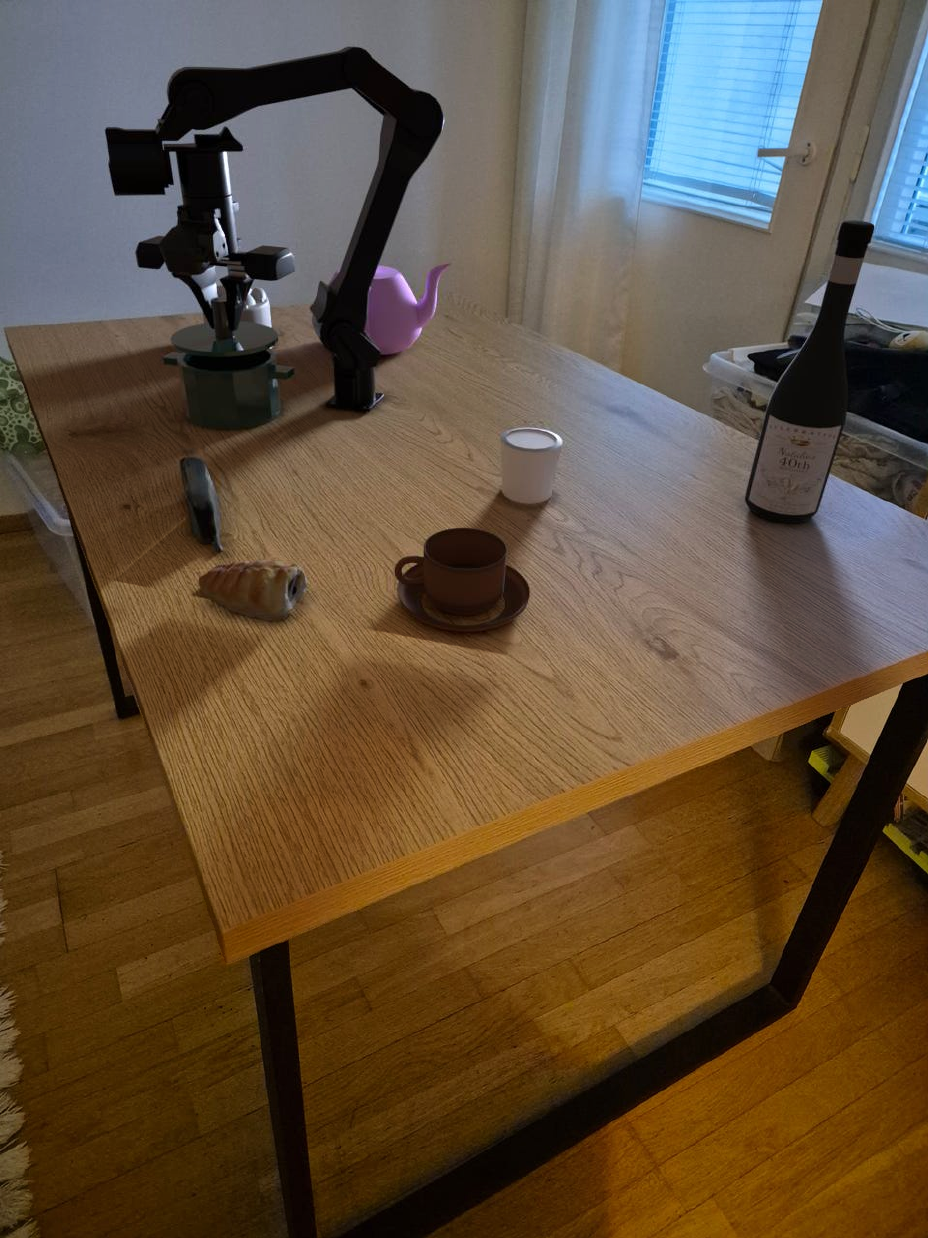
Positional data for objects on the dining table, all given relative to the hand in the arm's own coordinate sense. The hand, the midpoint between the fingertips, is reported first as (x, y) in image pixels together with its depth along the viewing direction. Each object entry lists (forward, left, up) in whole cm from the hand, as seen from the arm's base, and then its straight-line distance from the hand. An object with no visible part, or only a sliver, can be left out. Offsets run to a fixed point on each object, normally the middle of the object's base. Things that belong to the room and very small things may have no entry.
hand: (224, 329), depth 108 cm
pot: (0, 0, -11) cm, 11 cm away
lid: (0, 0, -1) cm, 1 cm away
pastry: (+41, +24, -11) cm, 49 cm away
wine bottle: (+6, +71, -11) cm, 72 cm away
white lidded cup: (+12, +43, -11) cm, 46 cm away
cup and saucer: (+36, +42, -11) cm, 56 cm away
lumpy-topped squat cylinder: (-27, -13, -11) cm, 32 cm away
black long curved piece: (+29, +12, -11) cm, 34 cm away
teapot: (-35, +9, -11) cm, 38 cm away
